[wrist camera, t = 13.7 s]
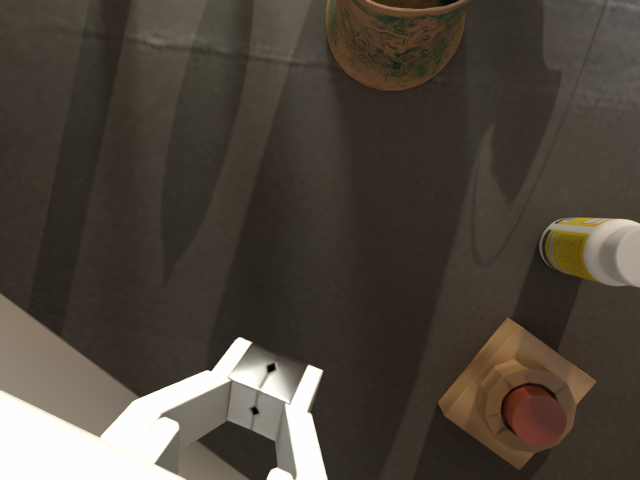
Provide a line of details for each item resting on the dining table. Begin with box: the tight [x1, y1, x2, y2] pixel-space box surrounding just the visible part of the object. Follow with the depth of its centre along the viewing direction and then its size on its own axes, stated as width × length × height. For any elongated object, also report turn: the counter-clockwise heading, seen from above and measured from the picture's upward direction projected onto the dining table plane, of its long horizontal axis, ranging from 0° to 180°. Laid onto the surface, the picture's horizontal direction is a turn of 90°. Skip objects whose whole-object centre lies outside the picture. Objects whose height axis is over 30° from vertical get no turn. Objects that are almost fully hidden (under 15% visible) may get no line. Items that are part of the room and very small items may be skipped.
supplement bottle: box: [539, 218, 640, 287], centre depth 27 cm, size 5×5×8 cm
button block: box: [438, 318, 596, 470], centre depth 31 cm, size 10×8×4 cm
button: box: [503, 385, 567, 446], centre depth 28 cm, size 4×4×2 cm
